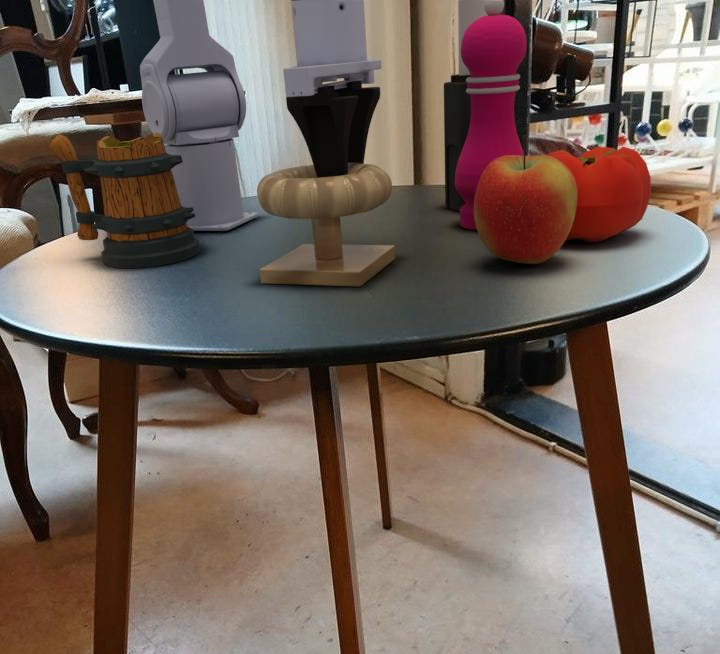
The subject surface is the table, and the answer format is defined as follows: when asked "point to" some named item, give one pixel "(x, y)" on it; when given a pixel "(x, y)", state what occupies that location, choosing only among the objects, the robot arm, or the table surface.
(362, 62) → the robot arm
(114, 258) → the mug
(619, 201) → the tomato
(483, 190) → the apple
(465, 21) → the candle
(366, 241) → the table surface
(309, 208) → the ring
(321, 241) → the peg stand
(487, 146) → the pepper mill
